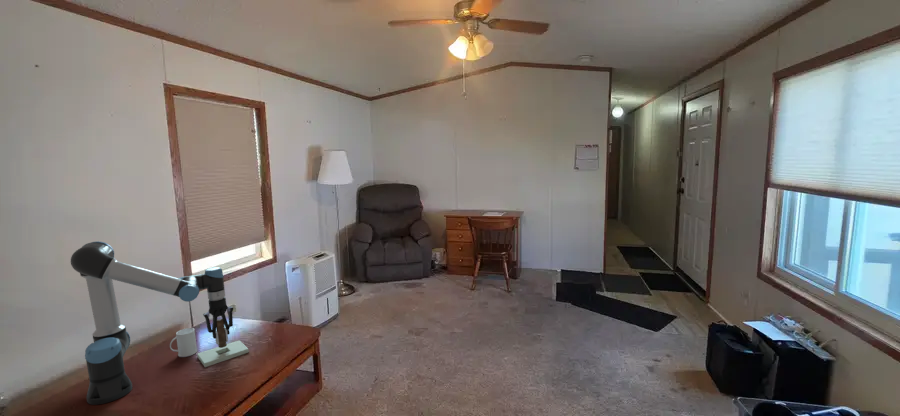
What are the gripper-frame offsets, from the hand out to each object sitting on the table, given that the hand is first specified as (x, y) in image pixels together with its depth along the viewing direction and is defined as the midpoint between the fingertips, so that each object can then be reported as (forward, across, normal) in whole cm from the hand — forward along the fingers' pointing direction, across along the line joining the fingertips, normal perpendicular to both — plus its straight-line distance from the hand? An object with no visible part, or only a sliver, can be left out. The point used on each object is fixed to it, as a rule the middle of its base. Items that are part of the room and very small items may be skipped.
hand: (222, 342), depth 207 cm
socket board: (+7, 0, 0) cm, 7 cm away
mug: (+7, -14, +16) cm, 22 cm away
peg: (+2, 0, 0) cm, 2 cm away
